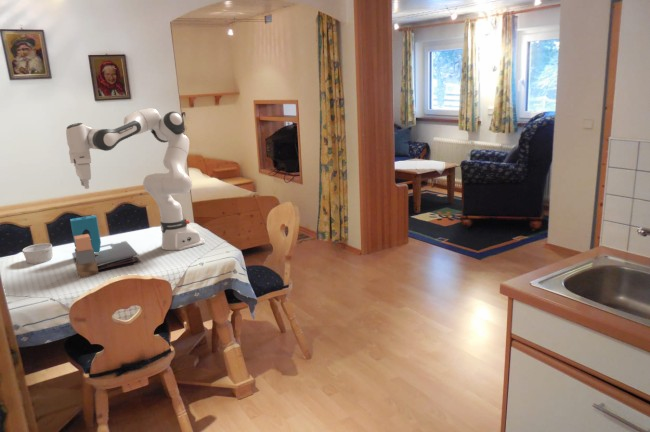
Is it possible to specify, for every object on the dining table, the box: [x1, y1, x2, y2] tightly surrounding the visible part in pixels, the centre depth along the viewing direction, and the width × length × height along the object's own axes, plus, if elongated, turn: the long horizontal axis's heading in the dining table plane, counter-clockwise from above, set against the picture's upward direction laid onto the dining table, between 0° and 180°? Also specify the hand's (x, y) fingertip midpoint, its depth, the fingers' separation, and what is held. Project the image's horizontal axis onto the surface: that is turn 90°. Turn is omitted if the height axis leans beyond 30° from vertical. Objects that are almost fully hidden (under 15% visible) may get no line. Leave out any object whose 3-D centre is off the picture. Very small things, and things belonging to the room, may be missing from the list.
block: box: [69, 214, 102, 252], centre depth 260 cm, size 12×5×20 cm, turn 120°
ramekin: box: [22, 242, 53, 265], centre depth 258 cm, size 13×13×7 cm
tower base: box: [75, 260, 99, 278], centre depth 237 cm, size 8×8×6 cm
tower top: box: [74, 248, 97, 265], centre depth 235 cm, size 7×7×6 cm
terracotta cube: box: [73, 233, 92, 252], centre depth 233 cm, size 6×6×6 cm
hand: (85, 187), depth 246 cm, fingers open, 8 cm apart
